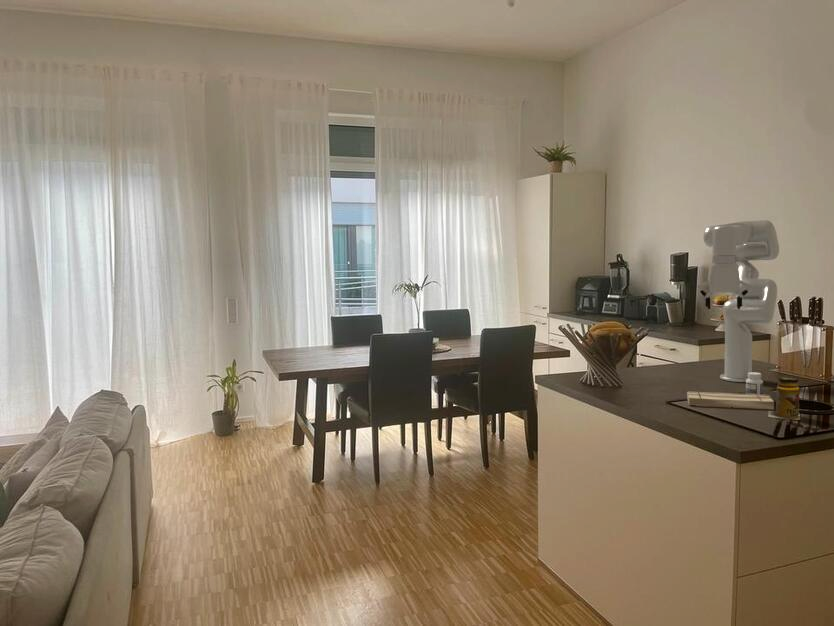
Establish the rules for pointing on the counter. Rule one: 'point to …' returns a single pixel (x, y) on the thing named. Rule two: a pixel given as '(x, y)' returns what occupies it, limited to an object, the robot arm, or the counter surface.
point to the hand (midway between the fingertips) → (723, 308)
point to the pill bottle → (754, 384)
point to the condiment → (787, 399)
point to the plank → (730, 400)
